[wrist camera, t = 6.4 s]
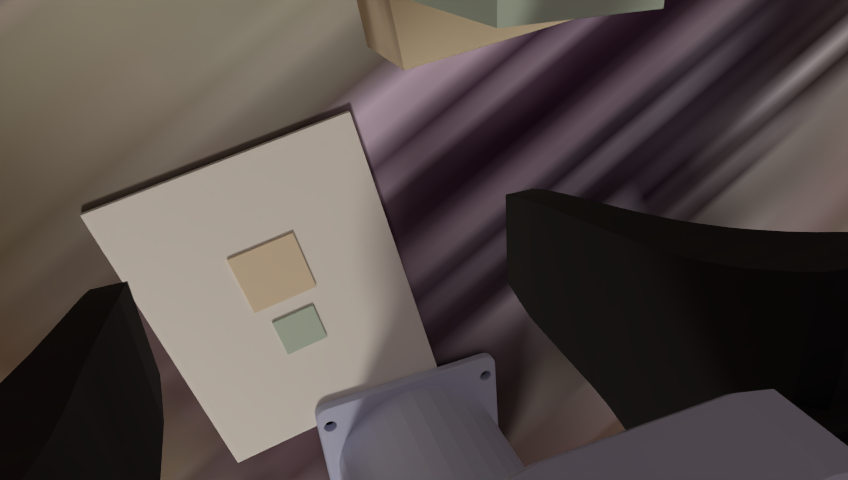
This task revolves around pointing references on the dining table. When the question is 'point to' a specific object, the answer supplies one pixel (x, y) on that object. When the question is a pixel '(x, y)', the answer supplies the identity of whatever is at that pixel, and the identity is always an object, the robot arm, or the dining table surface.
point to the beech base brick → (427, 32)
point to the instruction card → (270, 281)
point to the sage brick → (537, 9)
